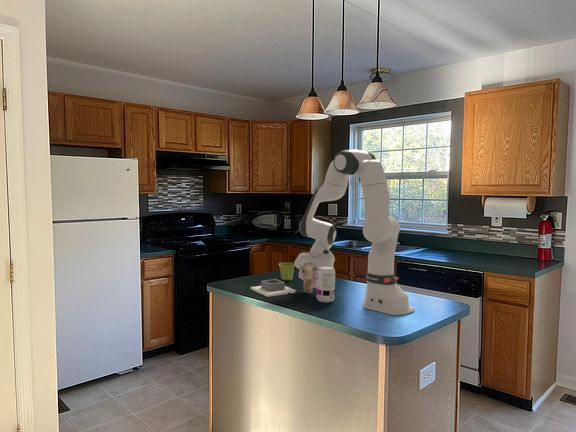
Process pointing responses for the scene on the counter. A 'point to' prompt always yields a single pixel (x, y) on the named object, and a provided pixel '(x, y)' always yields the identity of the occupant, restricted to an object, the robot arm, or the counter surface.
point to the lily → (313, 279)
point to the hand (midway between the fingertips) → (307, 276)
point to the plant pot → (286, 270)
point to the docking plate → (272, 288)
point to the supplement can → (325, 284)
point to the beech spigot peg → (308, 277)
